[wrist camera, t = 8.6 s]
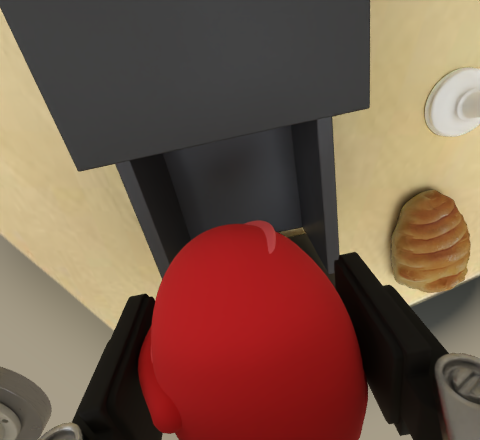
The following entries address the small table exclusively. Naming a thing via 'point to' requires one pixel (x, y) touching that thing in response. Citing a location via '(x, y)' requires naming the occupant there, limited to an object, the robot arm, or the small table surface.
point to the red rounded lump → (251, 344)
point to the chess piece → (454, 103)
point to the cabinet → (189, 69)
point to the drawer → (240, 190)
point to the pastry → (430, 244)
